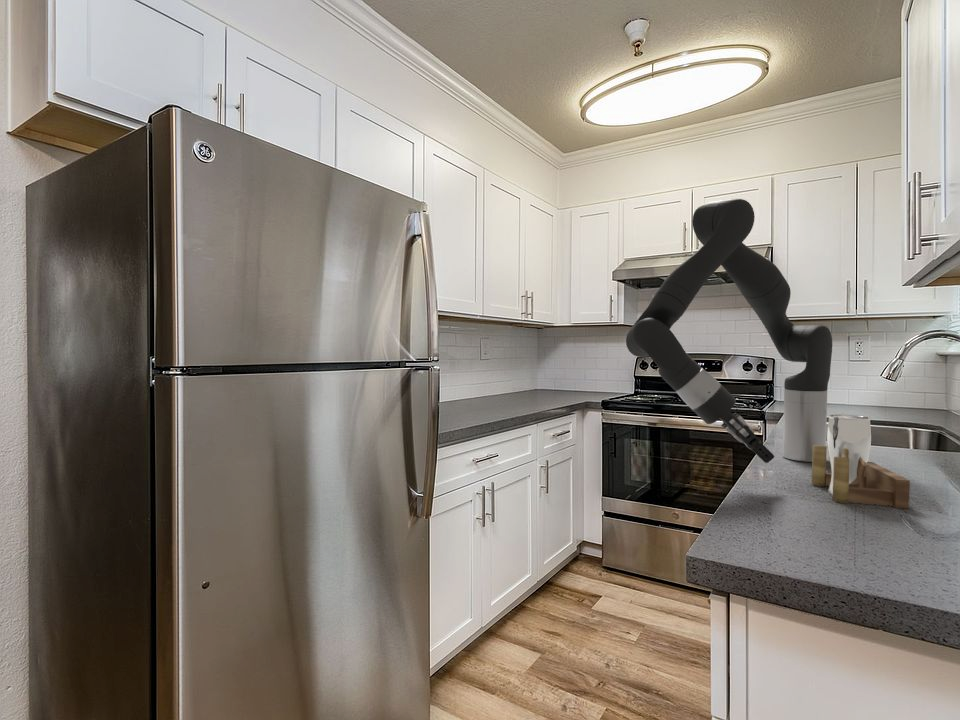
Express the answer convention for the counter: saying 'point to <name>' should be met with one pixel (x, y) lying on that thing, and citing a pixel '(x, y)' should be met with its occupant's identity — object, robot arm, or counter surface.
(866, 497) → the holder
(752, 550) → the counter surface
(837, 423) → the silver metal cup
